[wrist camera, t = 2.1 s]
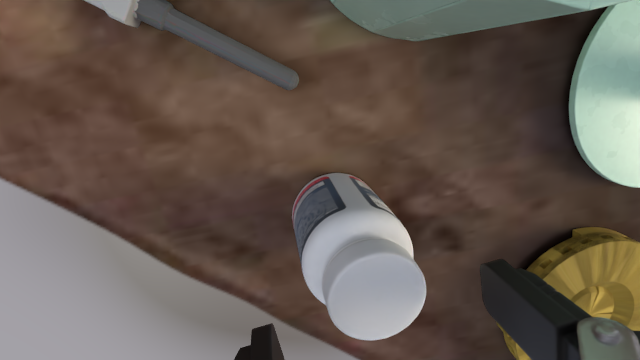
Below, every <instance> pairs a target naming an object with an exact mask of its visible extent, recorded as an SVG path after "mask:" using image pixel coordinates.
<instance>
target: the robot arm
mask: <svg viewBox="0 0 640 360" xmlns="http://www.w3.org/2000/svg"><path fill="white" fill-rule="evenodd" d="M480 275H481V286H482V297H483V302H484V305H485V307H486V309H487V311H488V312H489V314H490V315H491V316H492V317H493V318H494V319H495V321H496V322H497V323H498V324H499V325H500V326H501V327H502V328H503V329H504V330H505V331H506V332H507V334H508V335H509V336H510V337H511V338H512V339H513V340H514V341H515V342H516V343H517V344H518V345H519V347H520V348H521V349H522V350H523V351H524V352H525V353H526V354H527V355H528V356H529V357H530V358H531V360H640V331H632V330H631V329H629V328H628V327H627V326H625V325H623V324H622V323H619V322H617V321H615V320H612V319H608V318H603V317H592V316H591V315H589V314H588V313H587V312H585V311H584V310H583V309H581V308H580V307H579V306H577V305H576V304H575V303H573V302H572V301H571V300H569V299H568V298H567V297H565V296H564V295H563V294H561V293H560V292H557V291H556V289H555V288H553V287H552V286H551V285H549V284H547V282H545V281H544V280H543V279H541V278H540V277H539V276H537V275H536V274H534V273H532V272H529V271H527V270H524V269H522V268H518V269H515V268H513V267H512V266H511V265H510V264H508V263H507V262H506V261H504V260H503V259H498V260H494V261H491V262H488V263H484V264H481V266H480ZM234 360H284V356H283V353H282V350H281V347H280V344H279V341H278V338H277V334H276V331H275V328H274V326H273V324H268V325H265V326H261V327H258V328H254V329H252V335H251V345H250V346H246V347H243V348H240V350H239V351H238V353H237V355H236V357H235V359H234Z"/></svg>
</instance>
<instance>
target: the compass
mask: <svg viewBox="0 0 640 360" xmlns="http://www.w3.org/2000/svg"><path fill="white" fill-rule="evenodd" d="M527 271H529V272H532V273H534V274H536V275H537V276H539V277H540V278H541V279H543V280H544V281H545V282H547V284H549V285H551V286H552V287H553V288H555V289H556V291H557V292H560V293H561V294H563V295H564V296H565V297H567V298H568V299H569V300H571V301H572V302H573V303H575V304H576V305H577V306H579V307H580V308H581V309H583V310H584V311H585V312H587V313H588V314H589V315H591V316H592V317H603V318H608V319H612V320H615V321H617V322H619V323H622V324H623V325H625V326H627V327H628V328H629V329H631V330H632V331H640V242H638V241H635V240H633V239H631V238H629V237H627V236H625V235H623V234H620V233H618V232H616V231H613V230H610V229H606V228H601V227H585V228H579V229H574V230H573V233H572V238H570V239H568V240H566V241H563V242H561V243H559V244H558V245H556V246H554V247H552V248H551V249H549V250H548V251H547V252H545V253H544V254H542V255H541V256H540V257H539V258H538V259H537V260H535V261H534V262H533V263H532V264H531V265H530V266H529V267H528V268H527ZM497 325H498V326H499V328H500V329H501V330H502V331H503V334H504V339H505V342H506V344H507V347H508V348H509V350H510V352H511V353H512V354H513V355H514V357H515V358H516V359H517V360H531V358H530V357H529V356H528V355H527V354H526V353H525V352H524V351H523V350H522V349H521V348H520V347H519V345H518V344H517V343H516V342H515V341H514V340H513V339H512V338H511V337H510V336H509V335H508V334H507V332H506V331H505V330H504V329H503V328H502V327H501V326H500V325H499V324H498V323H497Z"/></svg>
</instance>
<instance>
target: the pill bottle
mask: <svg viewBox="0 0 640 360" xmlns="http://www.w3.org/2000/svg"><path fill="white" fill-rule="evenodd" d="M292 220H293V227H294V231H295V236H296V241H297V246H298V251H299V256H300V261H301V266H302V271H303V275H304V278H305V281H306V283H307V285H308V287H309V289H310V291H311V292H312V293H313V295H314V296H315V297H316V298H317V299H318V300H320V301H321V302H322V303H324V304H325V305H326V306H327V309H328V312H329V315H330V317H331V319H332V321H333V323H334V324H335V325H336V327H337V328H338V329H339V330H341V331H342V332H343V333H345V334H346V335H348V336H350V337H353V338H356V339H360V340H378V339H384V338H387V337H390V336H393V335H395V334H397V333H399V332H400V331H402V330H403V329H405V328H406V327H407V326H409V325H410V324H411V323H412V322H413V321H414V319H415V318H416V317H417V316H418V314H419V313H420V311H421V309H422V307H423V305H424V302H425V297H426V283H425V278H424V276H423V273H422V271H421V270H420V268H419V267H418V265H417V264H416V262H415V261H414V260H413V257H414V256H413V246H412V242H411V239H410V236H409V234H408V232H407V231H406V229H405V227H404V226H403V225H402V223H401V222H400V220H399V219H398V218H397V217H396V216H395V215H394V214H393V213H392V211H391V210H390V209H389V208H388V207H387V206H386V205H385V204H384V202H383V201H382V200H381V199H380V198H379V197H378V196H377V195H376V194H375V193H374V192H373V191H372V189H371V188H370V187H369V186H368V185H367V184H366V183H364V182H363V181H362V180H360V179H359V178H357V177H355V176H352V175H349V174H344V173H331V174H326V175H322V176H320V177H317V178H315V179H314V180H312V181H310V182H309V183H308V184H307V185H306V186H305V187H304V188H303V189H302V190H301V191H300V193H299V194H298V196H297V198H296V200H295V203H294V206H293V212H292Z"/></svg>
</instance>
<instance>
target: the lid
mask: <svg viewBox="0 0 640 360" xmlns="http://www.w3.org/2000/svg"><path fill="white" fill-rule="evenodd" d="M569 122H570V127H571V132H572V136H573V139H574V142H575V145H576V147H577V149H578V151H579V153H580V155H581V157H582V158H583V159H584V161H585V162H586V163H587V164H588V166H589V167H590V168H592V169H593V170H594V171H595V172H596V173H597V174H599V175H600V176H602V177H603V178H605V179H607V180H610V181H612V182H614V183H617V184H620V185H624V186H629V187H637V188H640V0H632V1H628V2H623V3H619V4H615V5H611V6H609V7H608V8H607V9H606V10H605V11H604V13H603V14H602V15H601V17H600V18H599V20H598V21H597V23H596V24H595V26H594V27H593V29H592V30H591V32H590V34H589V36H588V38H587V40H586V42H585V44H584V45H583V48H582V50H581V53H580V55H579V58H578V60H577V63H576V66H575V70H574V73H573V77H572V82H571V88H570V94H569Z"/></svg>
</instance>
